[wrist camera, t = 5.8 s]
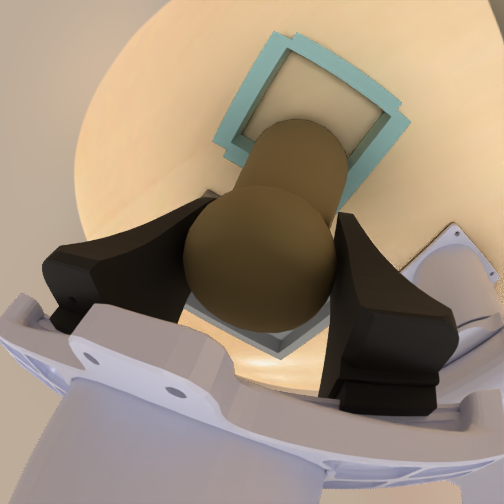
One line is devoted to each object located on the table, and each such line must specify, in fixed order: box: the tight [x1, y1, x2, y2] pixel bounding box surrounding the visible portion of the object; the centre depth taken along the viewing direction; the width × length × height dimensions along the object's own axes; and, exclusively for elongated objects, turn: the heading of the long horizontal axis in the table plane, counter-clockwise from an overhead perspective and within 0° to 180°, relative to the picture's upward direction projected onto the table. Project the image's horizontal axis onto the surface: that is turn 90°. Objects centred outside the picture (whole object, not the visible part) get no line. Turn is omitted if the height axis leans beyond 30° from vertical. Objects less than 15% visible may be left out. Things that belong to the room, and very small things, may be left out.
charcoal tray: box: [184, 189, 330, 360], centre depth 28 cm, size 16×13×2 cm
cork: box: [183, 119, 348, 333], centre depth 13 cm, size 6×6×11 cm
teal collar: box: [212, 31, 411, 213], centre depth 17 cm, size 10×10×2 cm
